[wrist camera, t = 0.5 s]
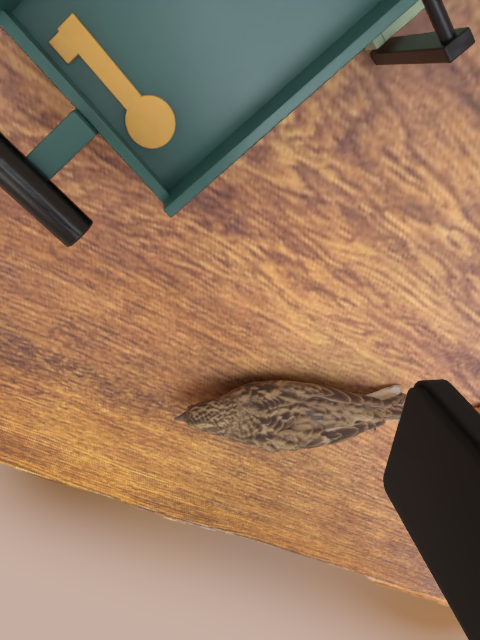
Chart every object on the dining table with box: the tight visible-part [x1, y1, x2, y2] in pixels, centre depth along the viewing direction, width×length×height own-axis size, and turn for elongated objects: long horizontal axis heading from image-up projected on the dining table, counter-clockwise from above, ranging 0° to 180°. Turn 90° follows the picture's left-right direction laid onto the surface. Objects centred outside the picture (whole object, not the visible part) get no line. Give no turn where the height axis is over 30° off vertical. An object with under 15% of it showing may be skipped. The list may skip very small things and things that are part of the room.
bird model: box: [174, 380, 406, 452], centre depth 38 cm, size 21×6×5 cm
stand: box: [371, 0, 475, 65], centre depth 22 cm, size 16×17×8 cm
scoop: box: [0, 0, 419, 247], centre depth 18 cm, size 19×10×4 cm, turn 128°
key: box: [49, 13, 176, 149], centre depth 20 cm, size 6×2×1 cm, turn 38°
